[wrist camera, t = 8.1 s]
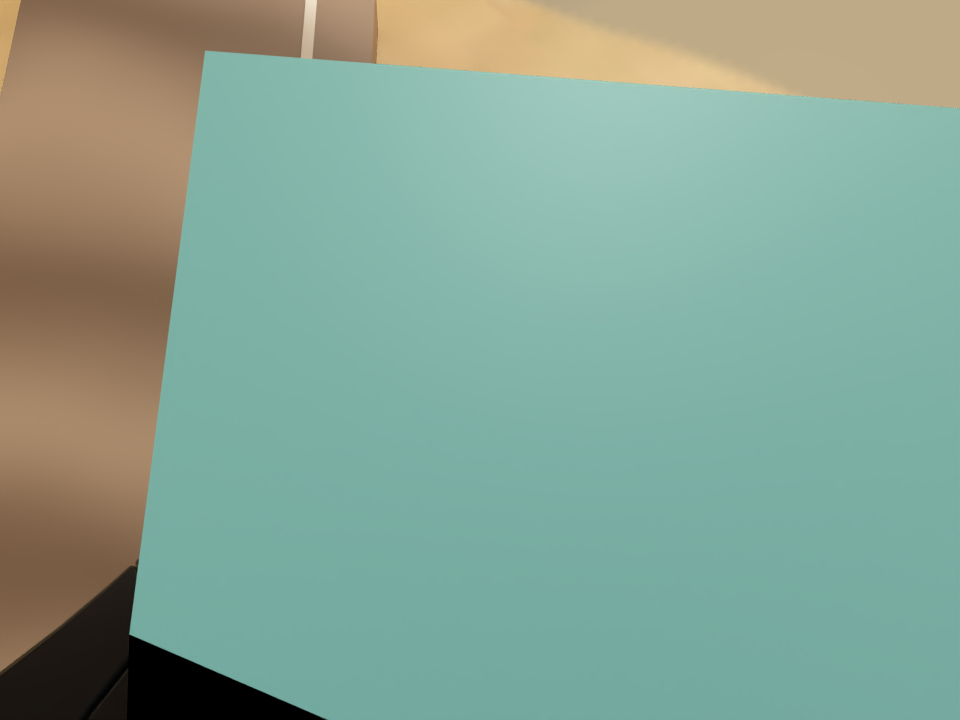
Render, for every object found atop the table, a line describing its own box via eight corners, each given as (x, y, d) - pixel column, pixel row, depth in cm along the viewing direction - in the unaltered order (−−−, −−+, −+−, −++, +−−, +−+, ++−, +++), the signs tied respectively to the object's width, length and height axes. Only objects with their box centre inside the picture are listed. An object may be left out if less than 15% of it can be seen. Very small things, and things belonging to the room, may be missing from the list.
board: (340, 778, 14) (332, 808, 13) (-96, 795, 14) (-159, 829, 12) (377, 27, 19) (375, -14, 18) (59, 1, 18) (28, -46, 17)
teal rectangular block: (545, 628, 14) (1433, 1273, 2) (223, 632, 14) (-1672, 1710, 1) (542, 449, 15) (1108, 118, 3) (241, 445, 15) (-695, -18, 2)
